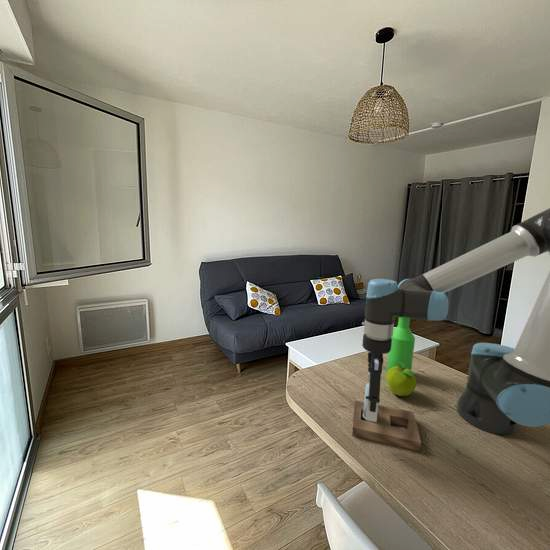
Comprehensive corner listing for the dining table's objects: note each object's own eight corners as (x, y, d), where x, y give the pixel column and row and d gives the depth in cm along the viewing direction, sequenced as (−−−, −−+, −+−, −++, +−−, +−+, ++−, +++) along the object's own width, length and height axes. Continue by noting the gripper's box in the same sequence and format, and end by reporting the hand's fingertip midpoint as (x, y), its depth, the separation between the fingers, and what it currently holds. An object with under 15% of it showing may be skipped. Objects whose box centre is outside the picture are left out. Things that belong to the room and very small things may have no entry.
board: (412, 419, 87) (413, 411, 87) (420, 451, 75) (421, 442, 75) (354, 407, 92) (354, 400, 92) (352, 435, 80) (352, 427, 80)
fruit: (406, 386, 105) (409, 360, 104) (418, 401, 96) (422, 373, 94) (381, 385, 105) (383, 359, 104) (390, 400, 96) (393, 373, 94)
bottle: (381, 369, 116) (387, 309, 112) (399, 367, 119) (405, 308, 115) (396, 381, 108) (403, 317, 104) (415, 378, 111) (423, 315, 106)
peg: (375, 421, 86) (378, 384, 84) (375, 429, 83) (379, 391, 80) (362, 418, 87) (365, 381, 85) (362, 426, 84) (365, 388, 81)
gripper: (363, 319, 93) (358, 381, 96) (362, 351, 69) (355, 431, 73) (388, 322, 90) (382, 385, 94) (396, 356, 67) (387, 438, 71)
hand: (370, 405), depth 84 cm, fingers open, 12 cm apart
